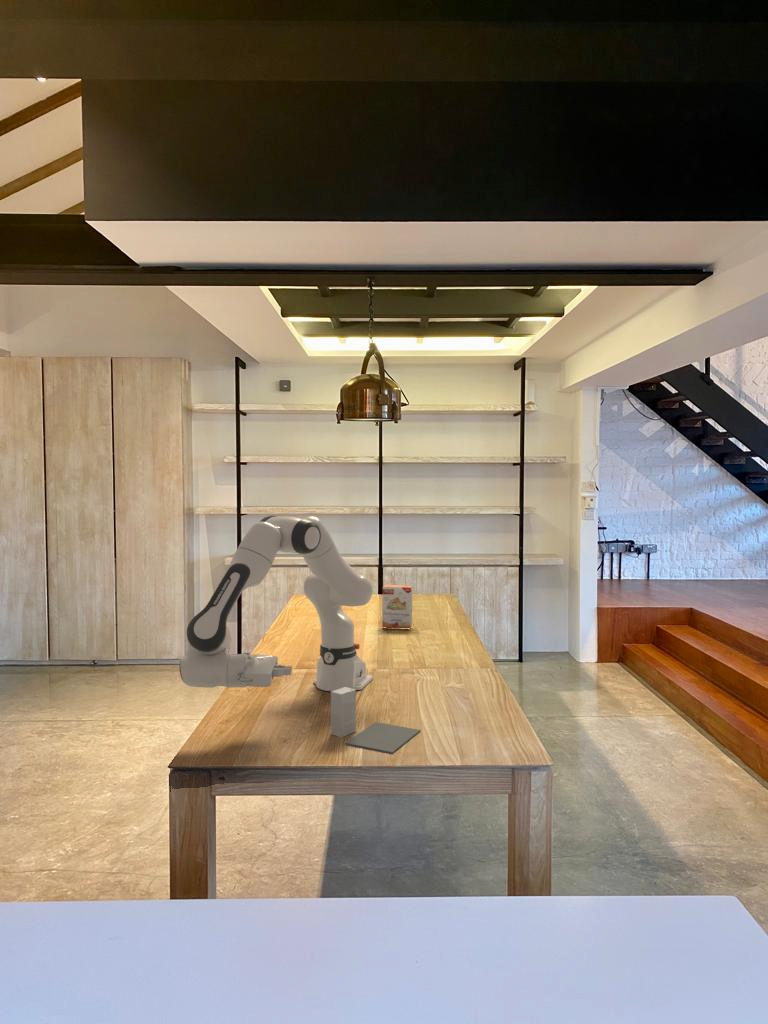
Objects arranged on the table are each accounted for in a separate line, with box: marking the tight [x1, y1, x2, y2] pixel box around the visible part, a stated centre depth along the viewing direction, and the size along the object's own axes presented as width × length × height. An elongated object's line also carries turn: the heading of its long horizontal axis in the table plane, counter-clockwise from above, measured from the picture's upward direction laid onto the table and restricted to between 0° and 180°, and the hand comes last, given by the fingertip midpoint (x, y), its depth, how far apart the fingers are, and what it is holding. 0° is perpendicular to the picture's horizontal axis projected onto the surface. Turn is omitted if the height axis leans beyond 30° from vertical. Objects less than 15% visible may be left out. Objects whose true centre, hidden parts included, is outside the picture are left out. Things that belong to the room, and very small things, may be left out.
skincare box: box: [330, 687, 357, 738], centre depth 187 cm, size 6×4×12 cm
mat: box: [344, 721, 421, 754], centre depth 184 cm, size 18×14×1 cm
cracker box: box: [381, 584, 413, 629], centre depth 329 cm, size 14×6×21 cm, turn 81°
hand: (291, 670), depth 186 cm, fingers closed
